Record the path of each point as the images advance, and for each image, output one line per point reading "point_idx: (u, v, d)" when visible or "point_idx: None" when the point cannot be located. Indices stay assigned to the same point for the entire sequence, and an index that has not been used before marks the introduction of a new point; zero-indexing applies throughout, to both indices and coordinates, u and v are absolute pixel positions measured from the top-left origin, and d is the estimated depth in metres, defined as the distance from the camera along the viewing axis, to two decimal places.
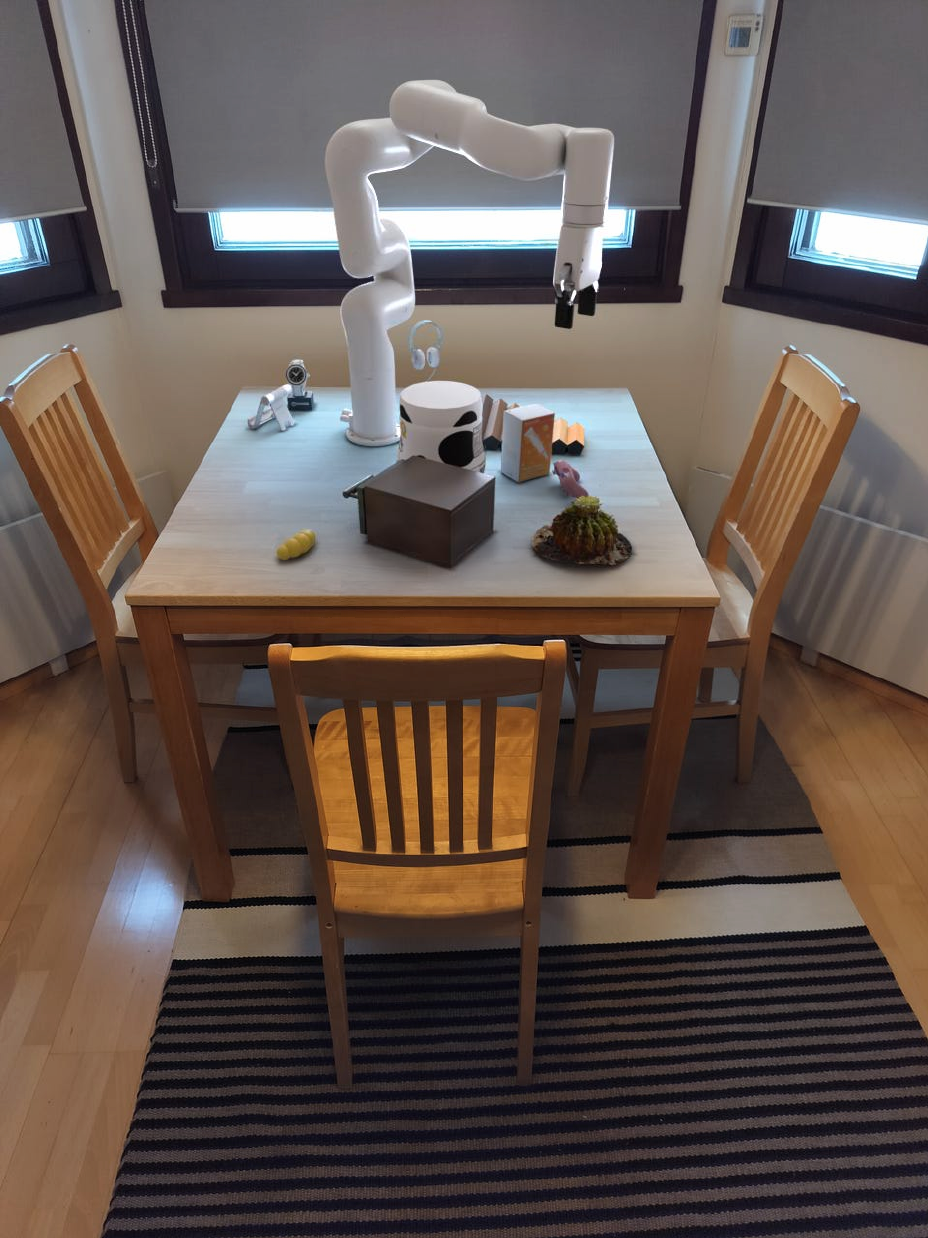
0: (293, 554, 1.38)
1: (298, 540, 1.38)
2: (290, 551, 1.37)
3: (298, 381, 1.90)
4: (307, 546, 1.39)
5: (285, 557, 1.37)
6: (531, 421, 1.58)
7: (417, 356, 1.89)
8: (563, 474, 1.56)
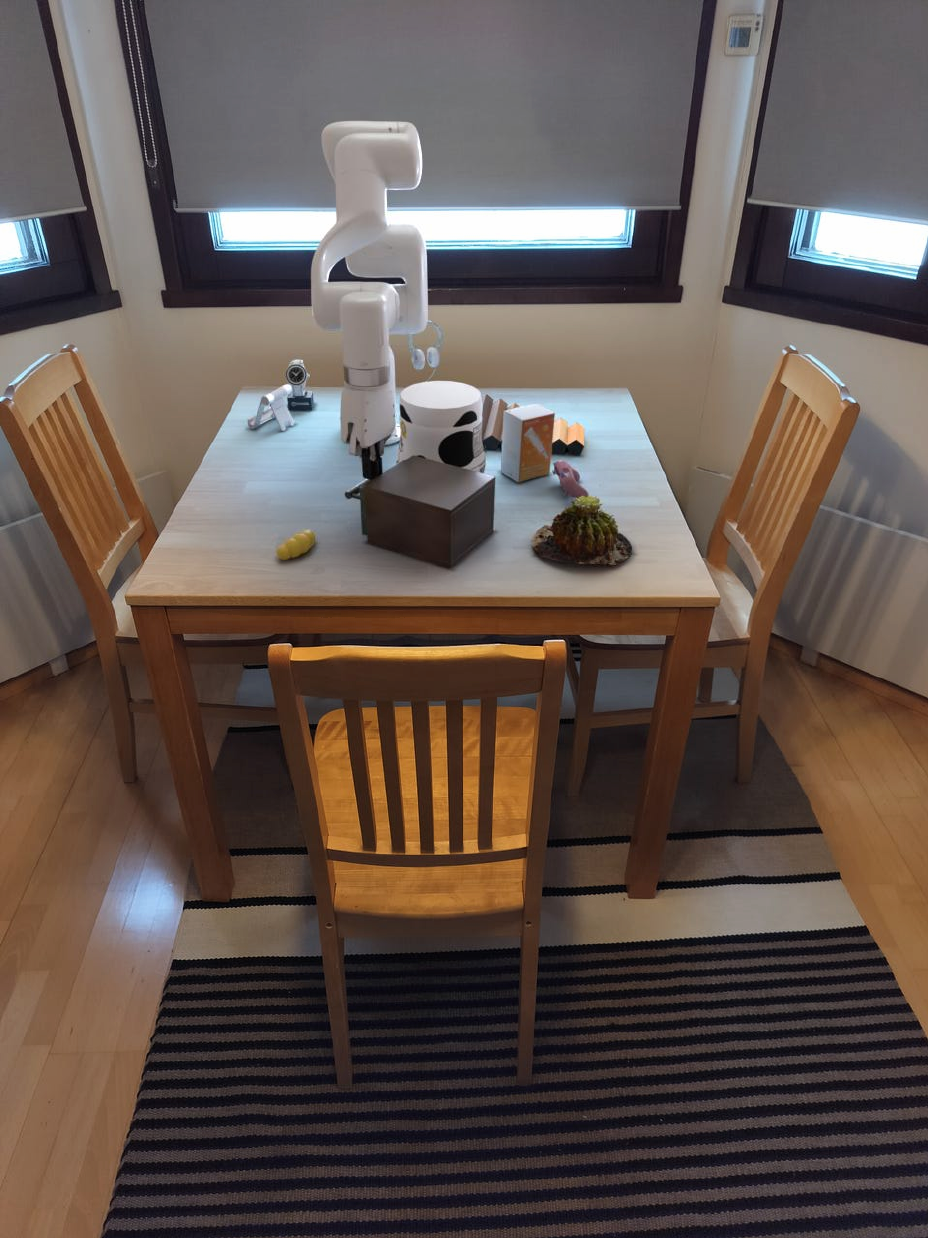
0: (293, 554, 1.38)
1: (298, 540, 1.38)
2: (290, 551, 1.37)
3: (298, 381, 1.90)
4: (307, 546, 1.39)
5: (285, 557, 1.37)
6: (531, 421, 1.58)
7: (417, 356, 1.89)
8: (563, 474, 1.56)
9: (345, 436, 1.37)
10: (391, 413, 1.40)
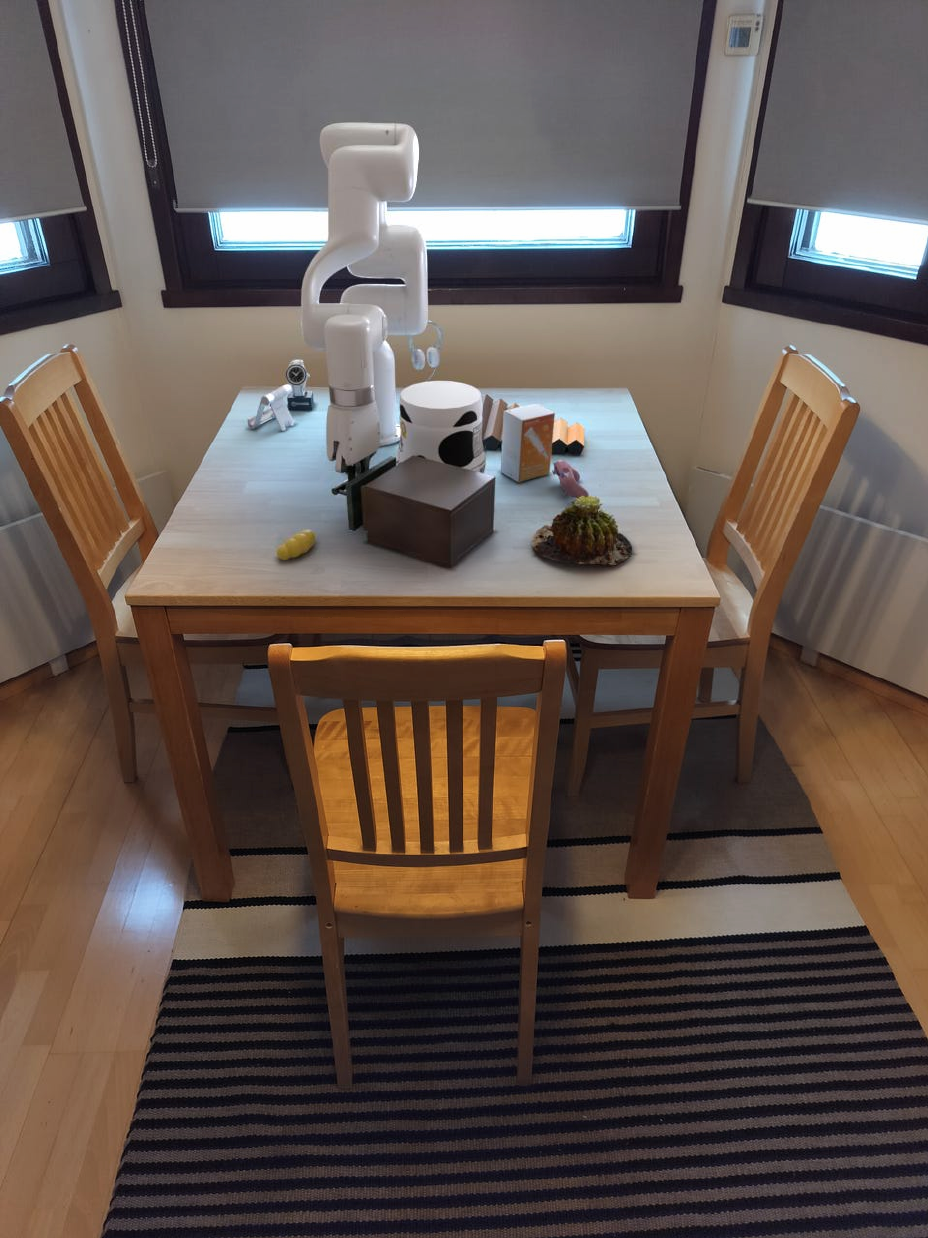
0: (293, 554, 1.38)
1: (298, 540, 1.38)
2: (290, 551, 1.37)
3: (298, 381, 1.90)
4: (307, 546, 1.39)
5: (285, 557, 1.37)
6: (531, 421, 1.58)
7: (417, 356, 1.89)
8: (563, 474, 1.56)
9: (331, 454, 1.41)
10: (376, 431, 1.44)
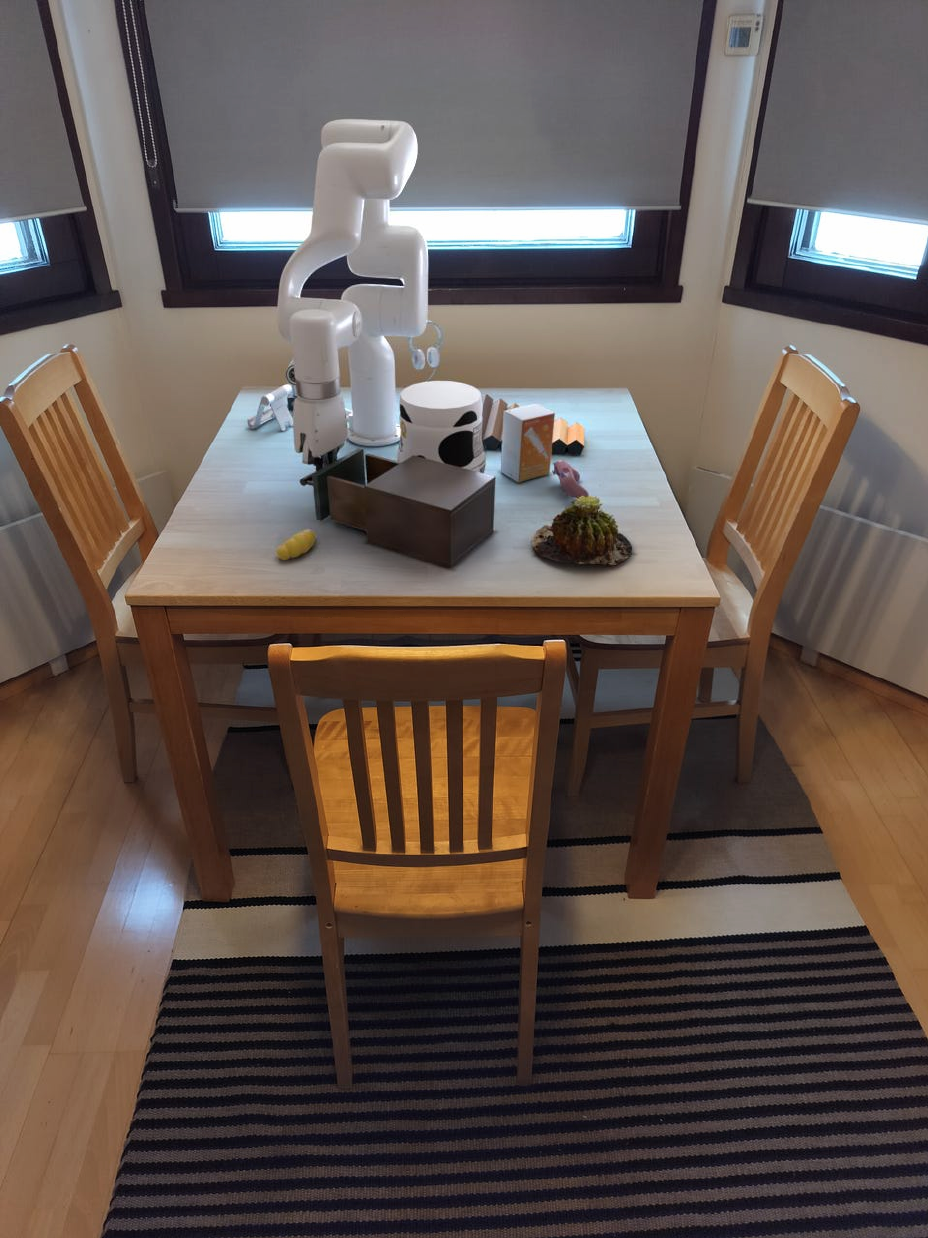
0: (293, 554, 1.38)
1: (298, 540, 1.38)
2: (290, 551, 1.37)
3: None
4: (307, 546, 1.39)
5: (285, 557, 1.37)
6: (531, 421, 1.58)
7: (417, 356, 1.89)
8: (563, 474, 1.56)
9: (298, 446, 1.44)
10: (343, 423, 1.47)
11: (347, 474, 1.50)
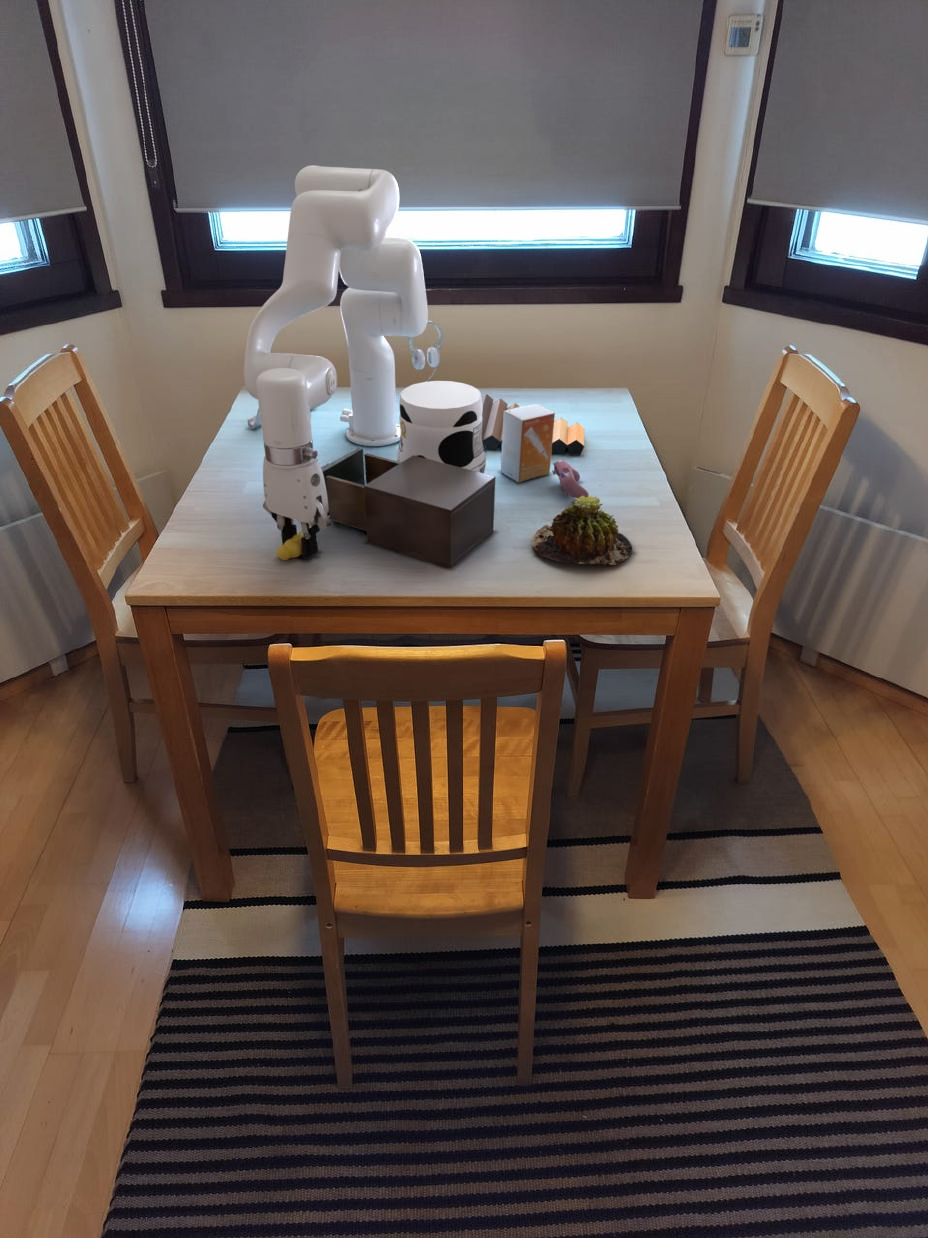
0: (293, 554, 1.38)
1: (298, 540, 1.38)
2: (290, 551, 1.37)
3: None
4: None
5: (285, 557, 1.37)
6: (531, 421, 1.58)
7: (417, 356, 1.89)
8: (563, 474, 1.56)
9: None
10: (300, 502, 1.31)
11: (346, 474, 1.50)
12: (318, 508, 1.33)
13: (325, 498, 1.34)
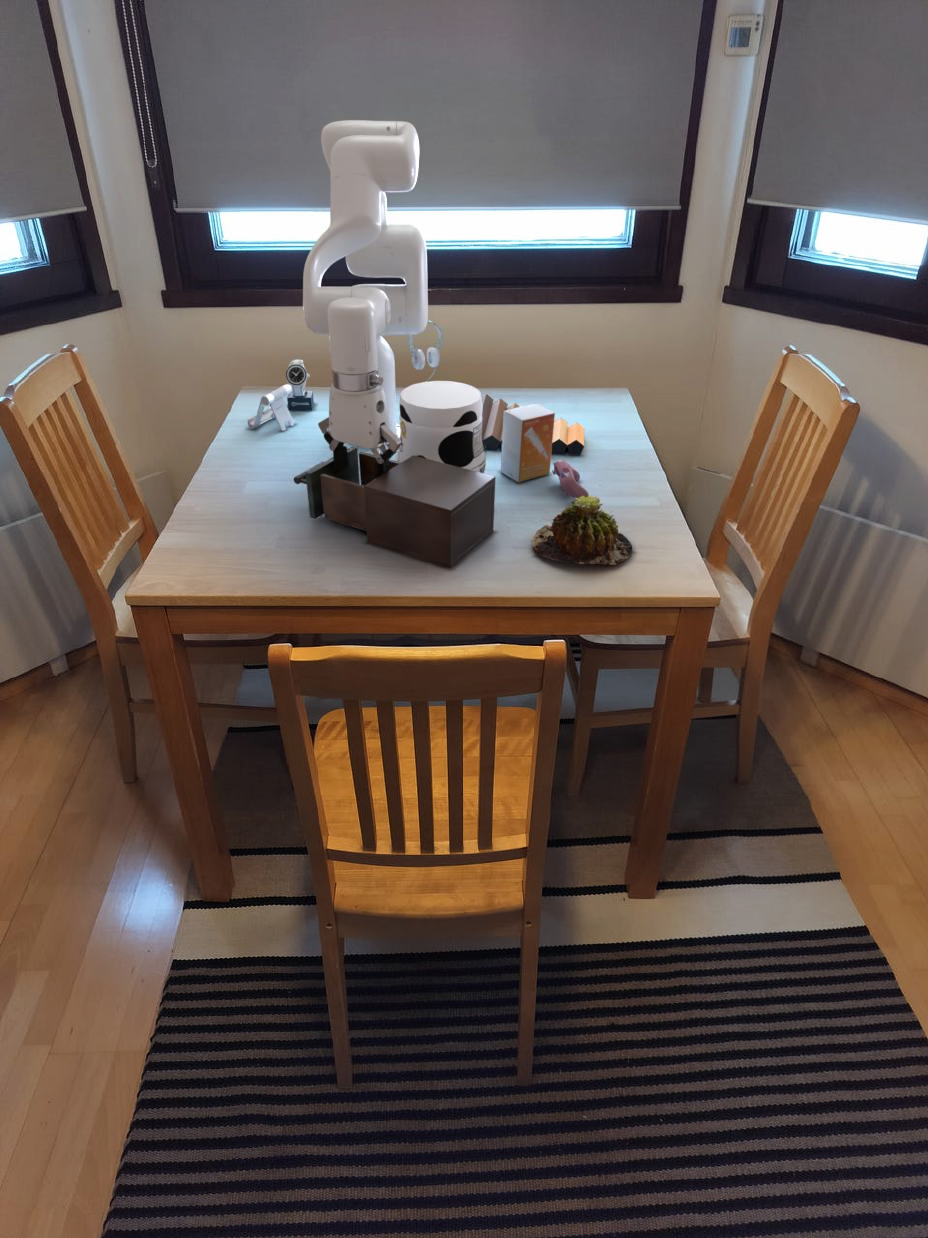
0: None
1: None
2: None
3: (298, 381, 1.90)
4: None
5: None
6: (531, 421, 1.58)
7: (417, 356, 1.89)
8: (563, 474, 1.56)
9: None
10: (365, 428, 1.38)
11: (340, 472, 1.51)
12: (384, 430, 1.39)
13: (388, 425, 1.40)
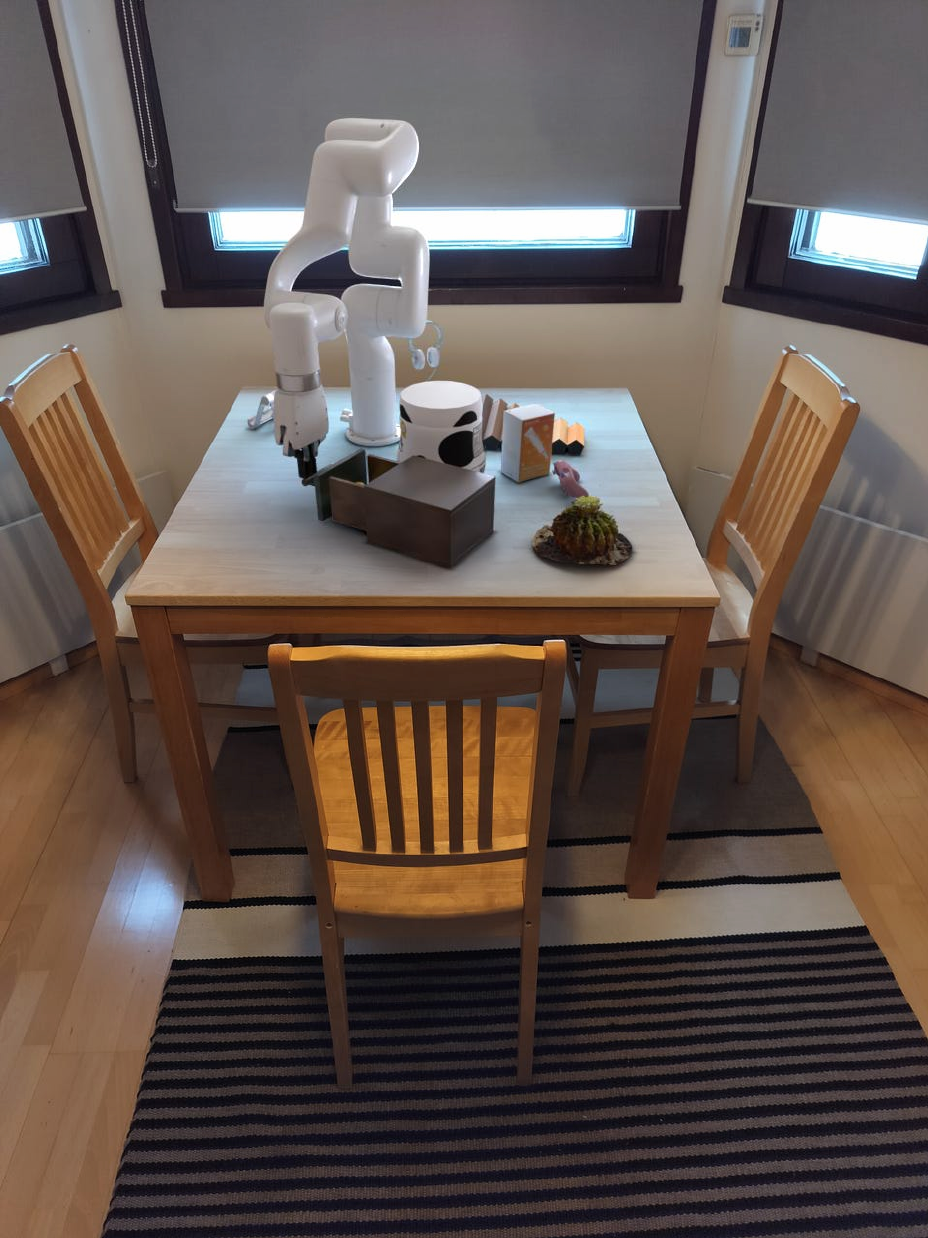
0: None
1: None
2: None
3: None
4: None
5: None
6: (531, 421, 1.58)
7: (417, 356, 1.89)
8: (563, 474, 1.56)
9: (278, 438, 1.45)
10: (323, 416, 1.49)
11: (348, 475, 1.50)
12: None
13: None
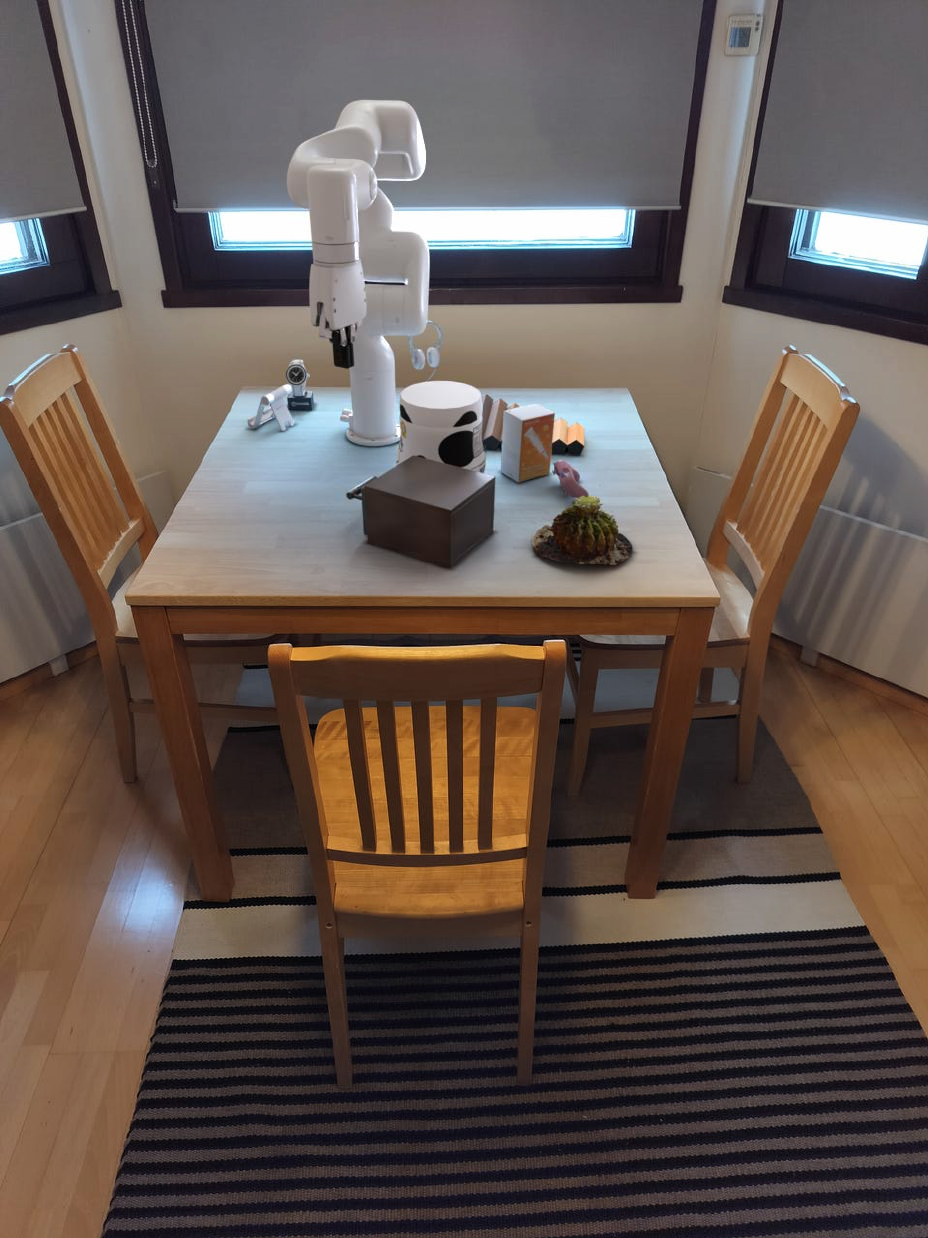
0: None
1: None
2: None
3: (298, 381, 1.90)
4: None
5: None
6: (531, 421, 1.58)
7: (417, 356, 1.89)
8: (563, 474, 1.56)
9: (314, 317, 1.35)
10: (362, 296, 1.39)
11: None
12: None
13: None
